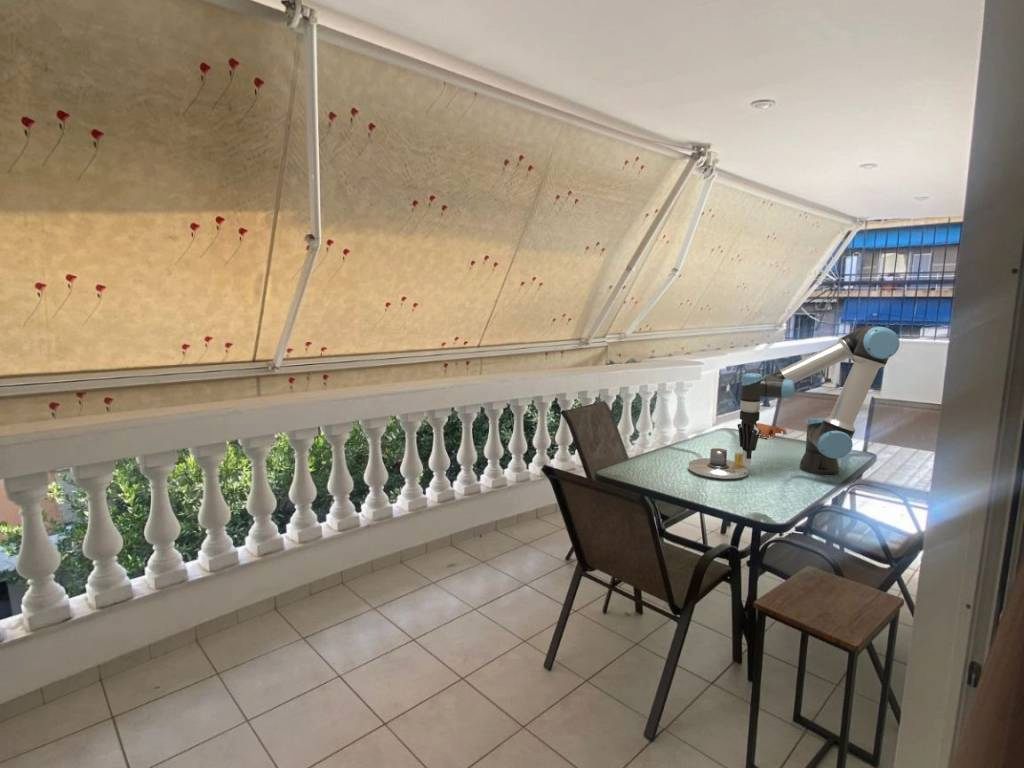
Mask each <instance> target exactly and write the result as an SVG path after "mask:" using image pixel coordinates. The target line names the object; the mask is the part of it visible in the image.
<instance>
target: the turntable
mask: <svg viewBox="0 0 1024 768" xmlns="http://www.w3.org/2000/svg"><path fill="white" fill-rule="evenodd" d="M709 463H710V457H709V458H708V457H706V458H697V459H693V460H691V461H689V462H688V469H689V471H691V472H693V473H694V474H696V475H700V476H702V475H703V476H702V477H705V476H707V477H706V478H709V477H712V478H711V479H715V478H721V479H720V480H733V479H741V478H745V477H747V476H748V475H749V468H748V467H749V466H743V452H735V453H734V460H730V459H727V462H726V464H727V465H728V467H727V468H725V469H716V468H712V467H710V466H709Z"/></svg>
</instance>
